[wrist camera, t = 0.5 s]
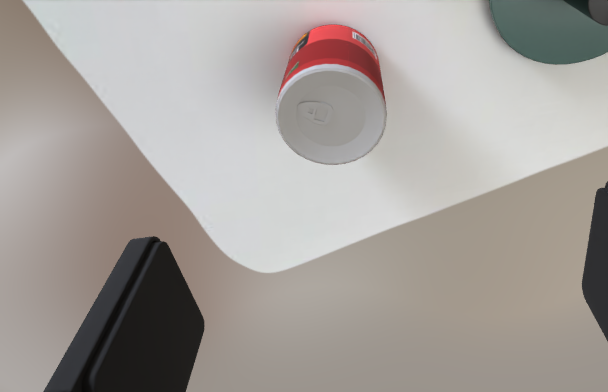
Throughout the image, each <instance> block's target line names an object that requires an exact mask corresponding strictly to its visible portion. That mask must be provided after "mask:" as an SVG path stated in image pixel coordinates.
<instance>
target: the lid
mask: <svg viewBox="0 0 608 392" xmlns="http://www.w3.org/2000/svg"><path fill="white" fill-rule="evenodd" d="M489 4H490V10H491V15H492V19H493V21H494V23H495V26H496V28H497V30H498V31H499V33H500V35H501V36H502V38H503V39H504V40H505V41H506V42H507V43H508V45H509V46H510V47H512V48H513V49H514V50H515V51H516V52H518V53H520V54H521V55H523V56H525V57H527V58H529V59H532V60H534V61H538V62H542V63H547V64H571V63H578V62H582V61H586V60H590V59H593V58H595V57H598V56H601V55H603V54H605V53H607V52H608V0H489Z"/></svg>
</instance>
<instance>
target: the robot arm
mask: <svg viewBox="0 0 608 392" xmlns="http://www.w3.org/2000/svg"><path fill="white" fill-rule="evenodd" d="M582 290H583V295H584V297H585V300H586V302H587V304H588V305H589V307H590V309H591V311H592V313H593V315H594V317H595V319H596V320H597V322H598V324H599V326H600V328H601V329H602V332H603V333H604V335H605V337H606V339H607V341H608V182H607V183H606V186H605V188H600V189H598V190H597V192H596V197H595V203H594V210H593V216H592V222H591V229H590V235H589V242H588V248H587V254H586V261H585V267H584V273H583V279H582ZM203 332H204V319H203V316H202V314H201V312H200V310H199V308H198V306H197V304H196V302H195V300H194V298H193V296H192V293H191V291H190V289H189V287H188V285H187V283H186V281H185V279H184V277H183V275H182V273H181V271H180V269H179V267H178V265H177V263H176V260H175V258H174V256H173V254H172V252H171V250H170V248H169V246H168V245H167V243H166V242H161V241H160V239H159V238H157V237H154V236H153V237H145V238H137V239H132V240H130V242H129V243H128V244H127V246H126V248H125V250H124V251H123V253H122V255H121V257H120V259H119V260H118V262H117V264H116V265H115V267H114V269H113V271H112V273H111V274H110V276H109V278H108V279H107V281H106V283H105V285H104V286H103V288H102V290H101V292H100V293H99V295H98V297H97V299H96V301H95V302H94V304H93V306H92V307H91V309H90V311H89V313H88V314H87V316H86V318H85V320H84V322H83V323H82V325H81V327H80V328H79V330H78V332H77V334H76V336H75V337H74V339H73V341H72V343H71V344H70V346H69V348H68V350H67V352H66V353H65V355H64V357H63V358H62V360H61V362H60V364H59V365H58V367H57V369H56V371H55V372H54V374H53V376H52V378H51V380H50V381H49V383H48V385H47V387H46V388H45V390H44V392H186V389H187V385H188V382H189V379H190V375H191V372H192V369H193V366H194V362H195V359H196V356H197V352H198V349H199V346H200V343H201V339H202V336H203Z"/></svg>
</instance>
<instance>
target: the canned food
mask: <svg viewBox="0 0 608 392" xmlns="http://www.w3.org/2000/svg"><path fill="white" fill-rule="evenodd" d="M386 116H387V111H386V102H385V96H384V90H383V84H382V78H381V72H380V66H379V60H378V56H377V53H376V51H375V49H374V47H373V46H372V44H371V42H370V41H369V40H368V39H367V38H366V37H365V36H364V35H362V34H361V33H359V32H358V31H356V30H354V29H352V28H350V27H346V26H342V25H325V26H320V27H318V28H315V29H312V30H311V31H309V32H308V33H306V34H304V35H303V36H302V37H301V38H300V39H299V40H298V42H297V43H296V45H295V46H294V48H293V50H292V53H291V55H290V59H289V62H288V65H287V68H286V72H285V75H284V78H283V81H282V85H281V88H280V91H279V95H278V99H277V104H276V123H277V126H278V130H279V132H280V134H281V136H282V138H283V140H284V141H285V142H286V144H287V145H288V146H289V147H290V148H291V149H292V150H293V151H294V152H296V153H297V154H298V155H300V156H302V157H304V158H305V159H308V160H310V161H313V162H316V163H321V164H328V165H338V164H346V163H349V162H352V161H355V160H357V159H359V158H361V157H363V156H365V155H366V154H368V153H369V152H370V151H371V150H372V149H373V148H374V147H375V146H376V145H377V144H378V142H379V141H380V139H381V137H382V135H383V133H384V129H385V126H386Z"/></svg>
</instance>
